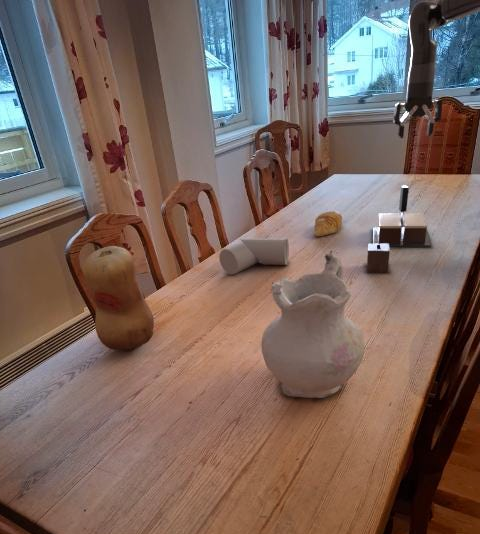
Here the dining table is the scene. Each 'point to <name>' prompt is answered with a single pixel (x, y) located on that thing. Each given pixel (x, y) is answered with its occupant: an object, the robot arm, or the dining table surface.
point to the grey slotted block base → (411, 230)
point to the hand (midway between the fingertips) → (414, 136)
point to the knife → (403, 203)
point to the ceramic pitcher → (313, 334)
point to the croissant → (327, 223)
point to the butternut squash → (118, 299)
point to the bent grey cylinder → (254, 254)
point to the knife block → (378, 258)
